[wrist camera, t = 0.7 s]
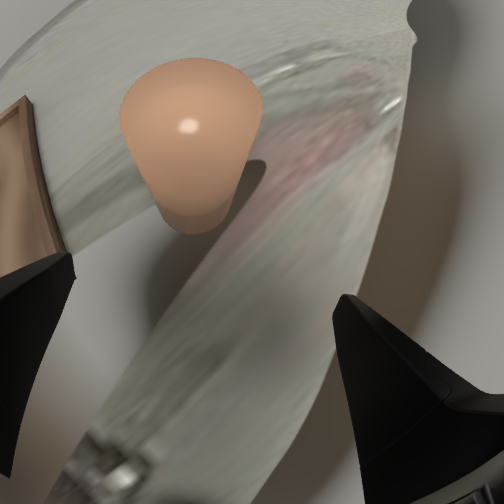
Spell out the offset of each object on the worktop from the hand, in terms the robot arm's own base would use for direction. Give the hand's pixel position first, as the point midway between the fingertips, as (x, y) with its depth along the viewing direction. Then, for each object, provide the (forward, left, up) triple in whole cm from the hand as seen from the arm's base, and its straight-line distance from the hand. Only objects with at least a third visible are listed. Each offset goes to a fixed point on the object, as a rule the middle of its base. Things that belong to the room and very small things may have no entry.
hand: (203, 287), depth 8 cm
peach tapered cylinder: (+3, +7, -13) cm, 15 cm away
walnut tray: (-17, +17, -13) cm, 27 cm away
